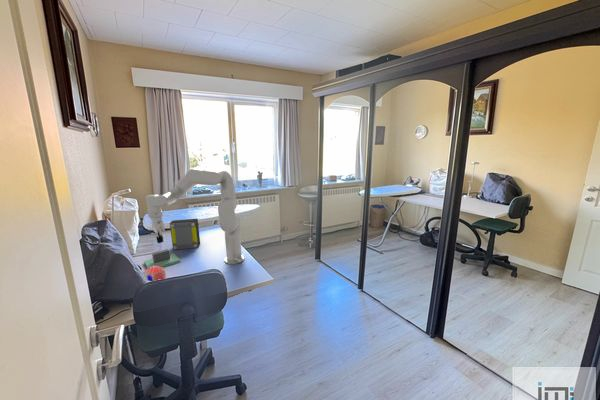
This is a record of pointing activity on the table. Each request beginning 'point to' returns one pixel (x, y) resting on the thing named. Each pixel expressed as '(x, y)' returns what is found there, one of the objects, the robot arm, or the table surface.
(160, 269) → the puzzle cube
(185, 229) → the electrical component
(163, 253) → the block
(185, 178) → the robot arm
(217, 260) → the table surface
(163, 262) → the header board
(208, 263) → the table surface
